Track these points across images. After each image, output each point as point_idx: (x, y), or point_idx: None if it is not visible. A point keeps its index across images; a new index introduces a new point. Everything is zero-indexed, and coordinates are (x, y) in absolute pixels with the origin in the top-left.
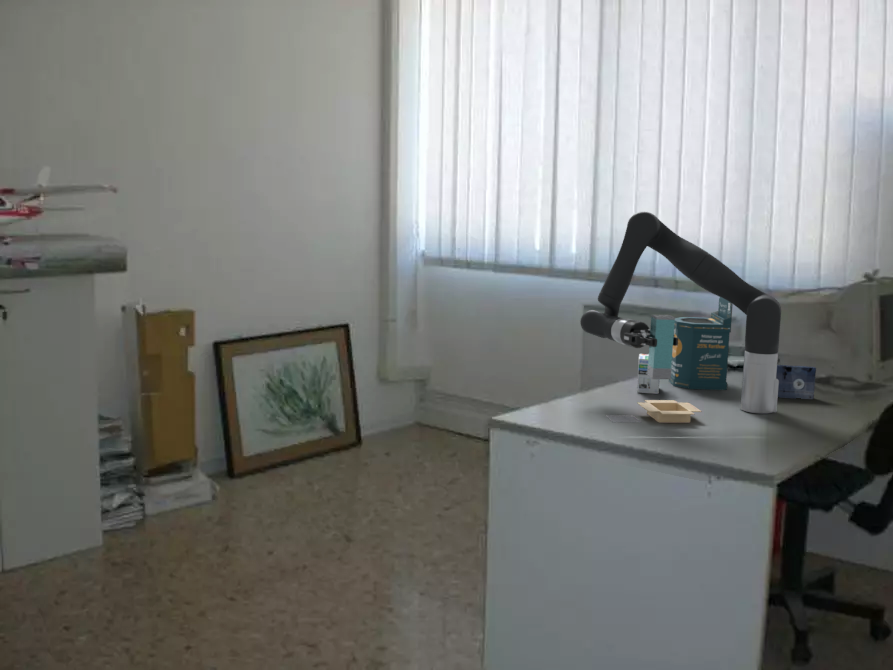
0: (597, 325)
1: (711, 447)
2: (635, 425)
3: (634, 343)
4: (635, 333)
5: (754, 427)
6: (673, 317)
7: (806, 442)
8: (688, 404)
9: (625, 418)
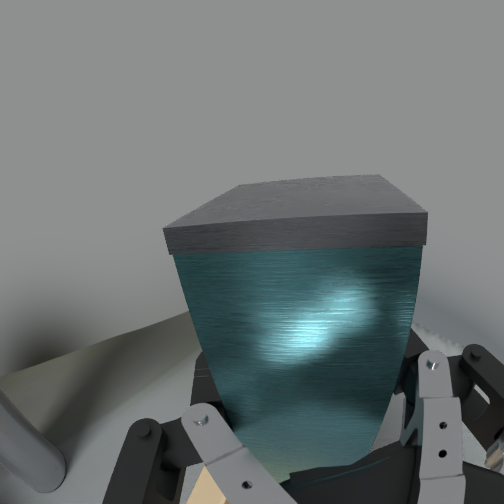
0: None
1: None
2: (387, 444)
3: (475, 393)
4: (491, 476)
5: (149, 401)
6: (248, 184)
7: (161, 332)
8: (198, 496)
9: None
